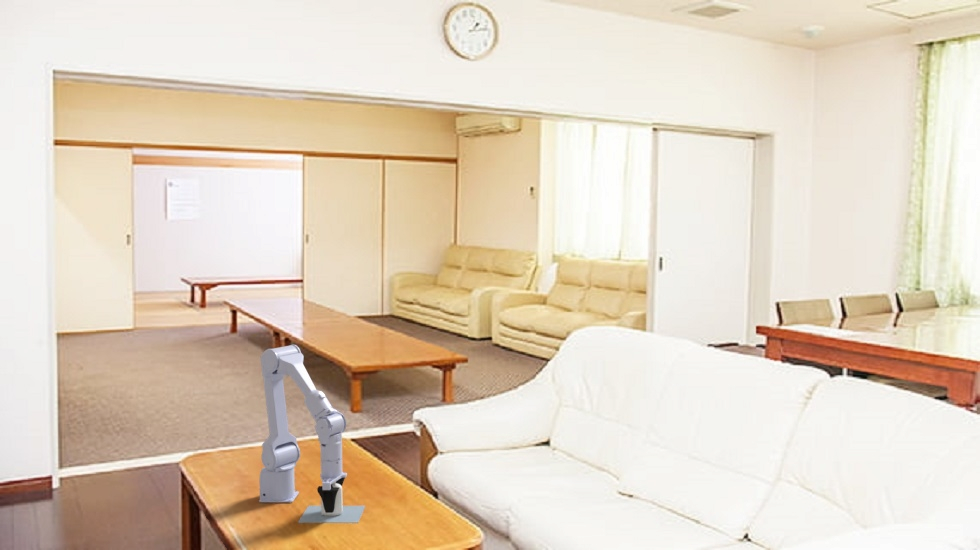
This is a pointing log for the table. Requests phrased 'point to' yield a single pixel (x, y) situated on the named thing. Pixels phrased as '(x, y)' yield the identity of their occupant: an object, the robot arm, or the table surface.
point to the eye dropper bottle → (338, 503)
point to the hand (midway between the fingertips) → (332, 506)
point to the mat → (348, 516)
